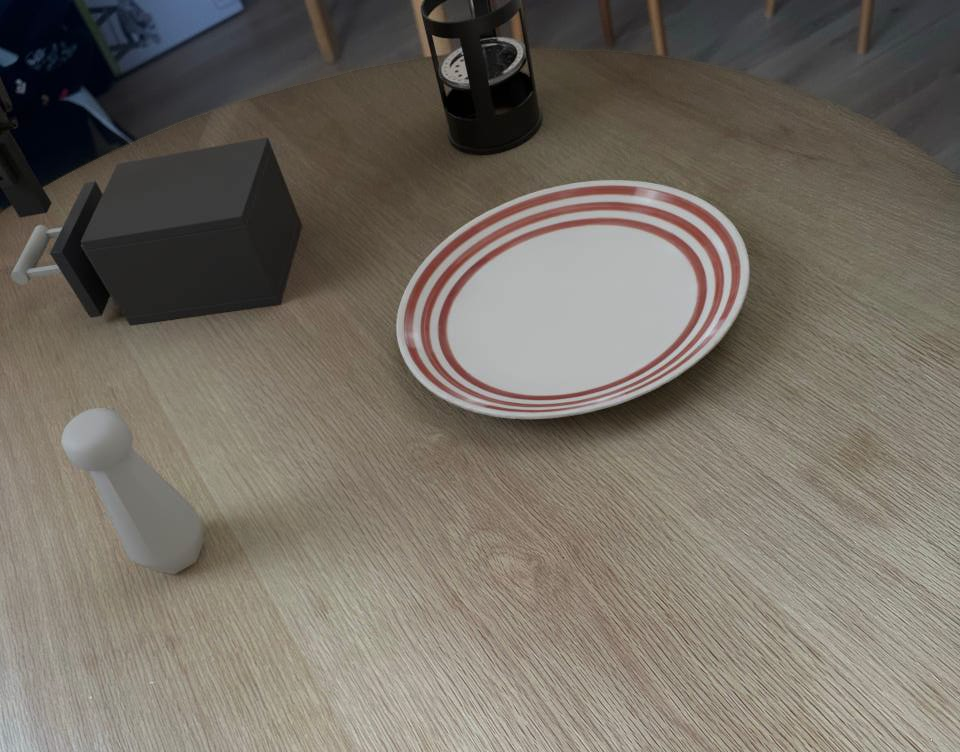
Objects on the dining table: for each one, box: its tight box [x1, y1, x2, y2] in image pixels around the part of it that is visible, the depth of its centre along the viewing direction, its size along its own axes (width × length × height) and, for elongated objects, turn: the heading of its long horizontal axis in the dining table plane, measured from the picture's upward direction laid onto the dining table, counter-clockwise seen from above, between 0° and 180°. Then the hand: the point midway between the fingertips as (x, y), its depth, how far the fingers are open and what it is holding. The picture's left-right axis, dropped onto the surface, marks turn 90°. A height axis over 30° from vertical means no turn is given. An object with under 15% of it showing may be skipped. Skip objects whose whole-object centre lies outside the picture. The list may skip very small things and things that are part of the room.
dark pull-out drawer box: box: [10, 180, 118, 318], centre depth 93 cm, size 20×11×7 cm, turn 86°
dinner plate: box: [395, 179, 751, 420], centre depth 80 cm, size 28×27×3 cm
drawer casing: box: [81, 137, 303, 326], centre depth 92 cm, size 15×12×9 cm
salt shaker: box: [60, 407, 204, 576], centre depth 70 cm, size 6×6×13 cm
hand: (35, 210), depth 91 cm, fingers closed
